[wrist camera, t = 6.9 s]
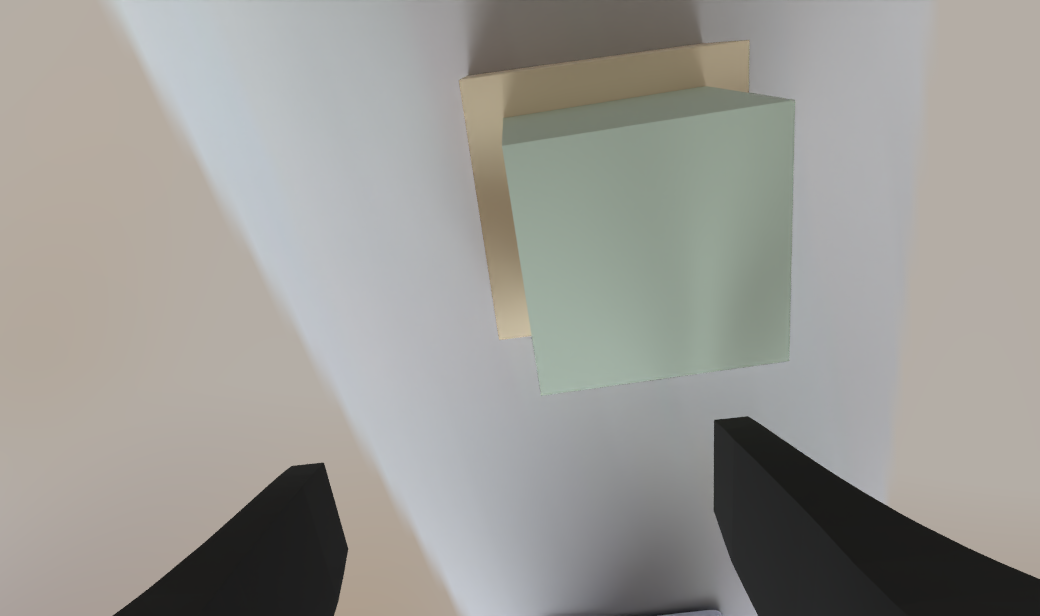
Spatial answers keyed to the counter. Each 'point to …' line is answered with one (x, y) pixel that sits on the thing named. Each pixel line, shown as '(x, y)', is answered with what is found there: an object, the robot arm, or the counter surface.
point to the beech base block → (561, 89)
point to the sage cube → (654, 235)
